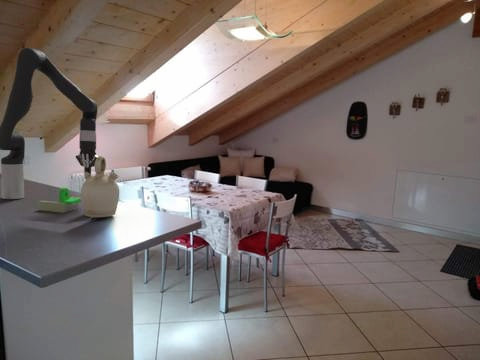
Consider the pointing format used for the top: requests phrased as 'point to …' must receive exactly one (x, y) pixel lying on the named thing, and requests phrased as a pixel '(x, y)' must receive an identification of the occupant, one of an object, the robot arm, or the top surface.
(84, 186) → the jug
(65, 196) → the mechanical part
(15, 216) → the top surface
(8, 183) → the robot arm
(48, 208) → the low bench
